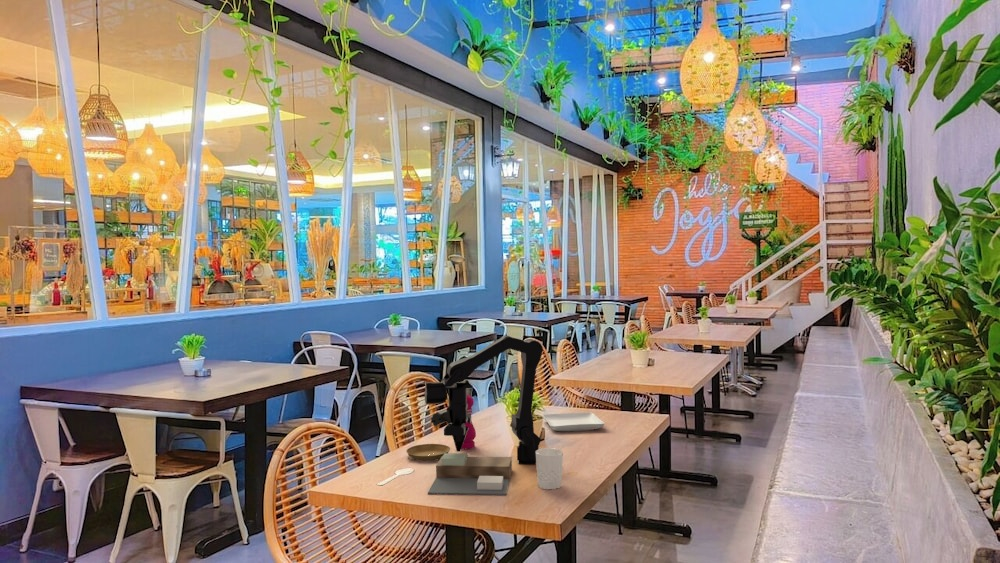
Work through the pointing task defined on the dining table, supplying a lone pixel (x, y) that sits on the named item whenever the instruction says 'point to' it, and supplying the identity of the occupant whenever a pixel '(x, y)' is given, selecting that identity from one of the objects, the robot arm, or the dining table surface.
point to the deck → (477, 468)
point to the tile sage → (454, 459)
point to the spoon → (398, 473)
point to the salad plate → (573, 421)
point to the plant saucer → (427, 452)
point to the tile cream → (490, 482)
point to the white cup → (549, 467)
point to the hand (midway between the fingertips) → (458, 451)
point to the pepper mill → (471, 432)
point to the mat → (463, 487)
